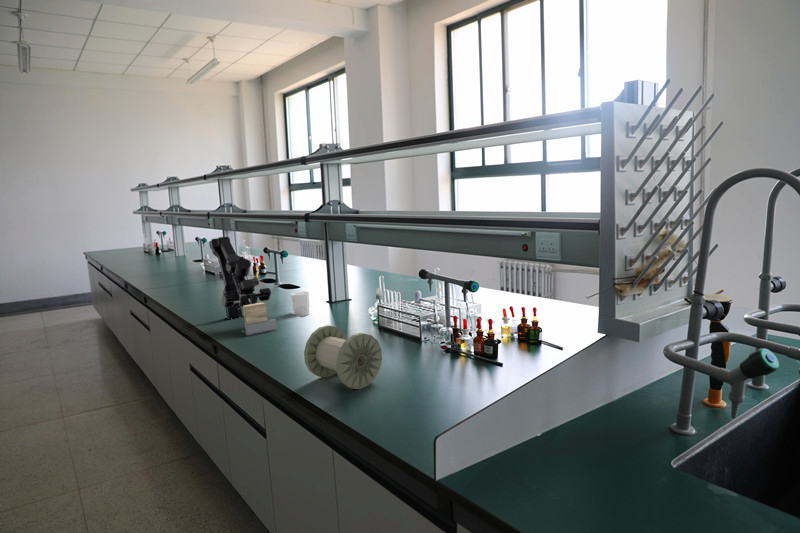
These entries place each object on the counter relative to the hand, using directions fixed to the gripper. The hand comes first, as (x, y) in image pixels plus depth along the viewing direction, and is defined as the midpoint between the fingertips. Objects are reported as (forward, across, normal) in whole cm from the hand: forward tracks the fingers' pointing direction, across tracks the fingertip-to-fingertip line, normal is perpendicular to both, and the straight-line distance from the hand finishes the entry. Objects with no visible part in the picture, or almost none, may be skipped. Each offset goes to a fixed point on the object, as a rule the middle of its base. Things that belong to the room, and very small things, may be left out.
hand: (253, 313), depth 211 cm
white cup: (-3, +25, +13) cm, 28 cm away
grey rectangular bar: (+10, 0, -1) cm, 10 cm away
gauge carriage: (+6, 0, +3) cm, 6 cm away
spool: (+59, +2, -49) cm, 77 cm away
